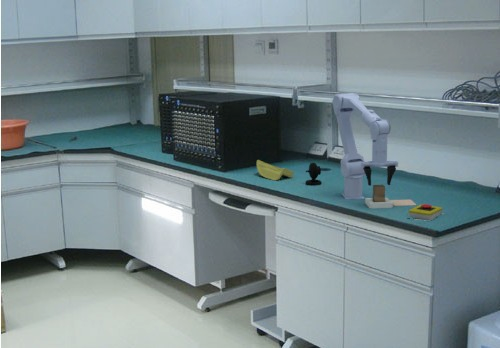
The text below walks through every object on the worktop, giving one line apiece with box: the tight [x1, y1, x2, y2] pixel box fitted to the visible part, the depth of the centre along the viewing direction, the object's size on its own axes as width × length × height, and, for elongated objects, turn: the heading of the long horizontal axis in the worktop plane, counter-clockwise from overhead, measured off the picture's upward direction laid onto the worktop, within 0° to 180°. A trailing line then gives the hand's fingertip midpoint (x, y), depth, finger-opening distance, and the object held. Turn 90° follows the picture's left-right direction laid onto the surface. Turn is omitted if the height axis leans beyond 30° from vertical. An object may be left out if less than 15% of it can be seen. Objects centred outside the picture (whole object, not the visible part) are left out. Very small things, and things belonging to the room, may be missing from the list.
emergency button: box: [406, 204, 445, 222], centre depth 257 cm, size 9×4×15 cm
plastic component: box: [256, 159, 295, 181], centre depth 334 cm, size 20×7×10 cm
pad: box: [389, 199, 417, 207], centre depth 276 cm, size 9×9×1 cm
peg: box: [372, 184, 386, 202], centre depth 272 cm, size 4×4×8 cm
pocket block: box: [364, 197, 394, 209], centre depth 273 cm, size 9×9×2 cm
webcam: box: [305, 162, 323, 186], centre depth 315 cm, size 8×8×10 cm
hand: (379, 184), depth 271 cm, fingers open, 7 cm apart
